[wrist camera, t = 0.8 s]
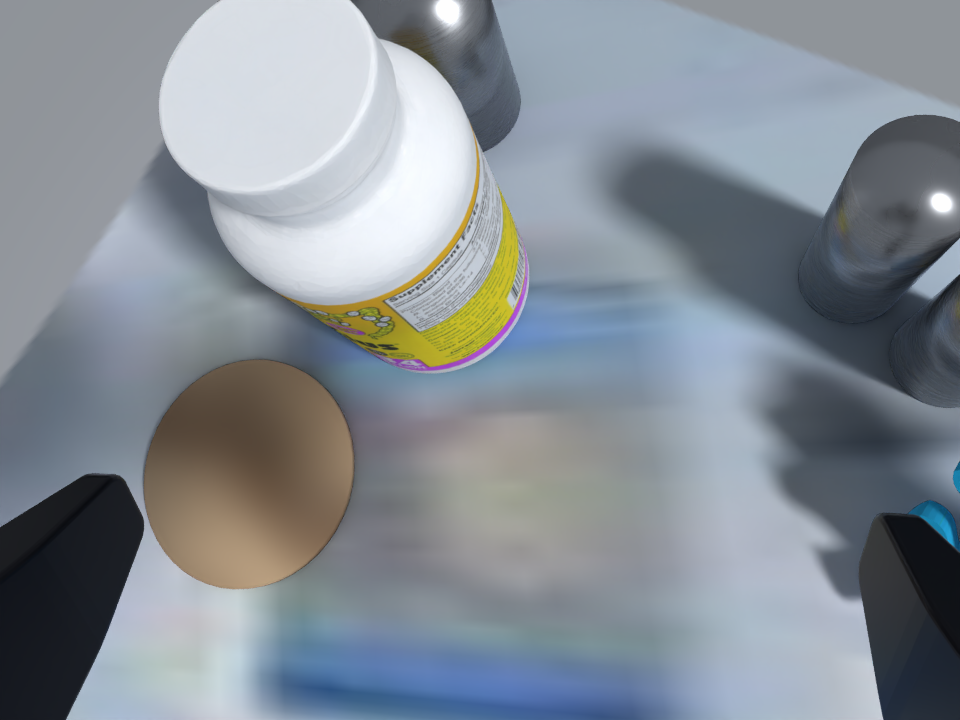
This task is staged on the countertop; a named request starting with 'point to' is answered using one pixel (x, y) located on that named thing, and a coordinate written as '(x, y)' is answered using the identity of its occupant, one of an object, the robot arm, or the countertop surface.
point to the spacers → (843, 231)
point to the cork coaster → (249, 474)
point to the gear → (941, 515)
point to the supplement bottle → (346, 179)
